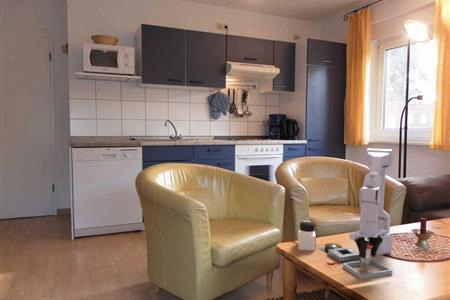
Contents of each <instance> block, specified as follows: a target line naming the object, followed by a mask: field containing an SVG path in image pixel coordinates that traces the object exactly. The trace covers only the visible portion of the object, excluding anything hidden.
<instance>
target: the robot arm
mask: <svg viewBox="0 0 450 300" xmlns="http://www.w3.org/2000/svg"><path fill="white" fill-rule="evenodd" d="M365 162H366V166H367V168H368V169H369V172H368V173H366V174H365V176H364V181H363V184H362V187H360V188H359V193H358V200H359V208H360V216H359V218H360V219H359V230H356V231H353V232H349V239H350V240H352V241H354V242H355V244H356V247H357V250H358V252H359V255H360V257H362V258H365V257H366V248H367V245H368V241H369V242H371V243H373V244H374V245H373V248H372V250H371V256H370V257H373V258H375V257H376V256H377V255H378V256H380V255H381V256H382V255H385V254H391V255H392V256H393V255H394V253H393V252H392V251H393V249H392V248H393V247H392V246H393V238H392V236H391V234H390V229H391V216H390V214H389V213H388V212H387V211H386V210H384V205H385V203H384V202H385V201H384V200H385V189H386V188H385V185H386V175H387V172H388V171H390V170H392V168H393V163H394V150H392V149H391V148H390V149H388V148H387V149H384V148H383V149H382V148H370V147H369V148H367V149H366V150H365Z"/></svg>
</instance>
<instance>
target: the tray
mask: <svg viewBox="0 0 450 300" xmlns="http://www.w3.org/2000/svg"><path fill="white" fill-rule="evenodd" d="M359 264H360V261H355V262H348V263H342V269H345V270H346V271H348V272H349V273H350V274H353V275H354V276H356V277H357V278H358V279H360V280H368V279H372V278H373V279H374V278H380V277H385V276H391V275H393V269H391V268H389V267H388V266H387V265H384V264H382V263H380V262H378V261H377V260H375V259H373V258H370V262H369V265H371V264H372V265H374V266H375V267H377V268H379V269H381V270H380V271H372V272H366V273H361V272H359V271H357V270H355V268H353V267H359V266H360V265H359ZM360 267H361V266H360Z"/></svg>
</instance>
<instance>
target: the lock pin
mask: <svg viewBox="0 0 450 300" xmlns="http://www.w3.org/2000/svg"><path fill="white" fill-rule="evenodd" d="M373 245H374V244H373V243H371V242H369V241H368V245H367V248H366V257H365V258H362V257H360V264H359V265H360V268H363V269H368V268H369V266H370V264H369V262H370V259H371V257H372V256H371V250H372V248H373Z"/></svg>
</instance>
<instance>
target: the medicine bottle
mask: <svg viewBox="0 0 450 300" xmlns="http://www.w3.org/2000/svg"><path fill="white" fill-rule="evenodd" d="M297 233H298V236H297V239H298V240H297V241H298V242H297V244H298V245H297V246H298V250H299V251H300V250H302V251H316V247H317V236H316V231H315V223H314V222H312V221H310V220H303V221H301V222H300V223H299V230H298V231H297Z"/></svg>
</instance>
